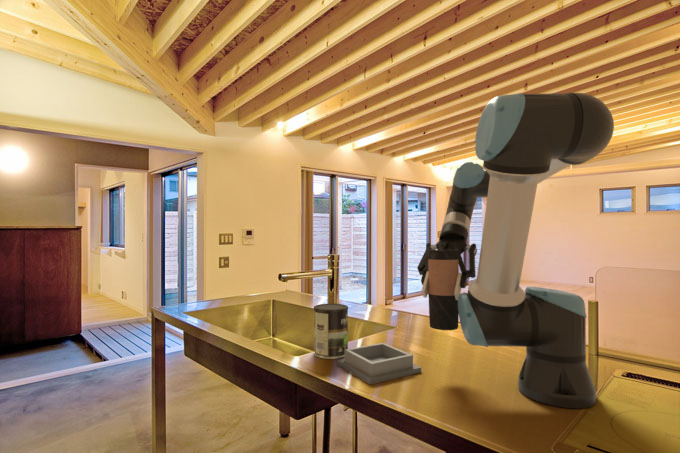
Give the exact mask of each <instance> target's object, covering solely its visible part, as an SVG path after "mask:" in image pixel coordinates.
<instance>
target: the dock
mask: <svg viewBox="0 0 680 453" xmlns="http://www.w3.org/2000/svg"><path fill="white" fill-rule="evenodd" d="M336 365H337V366H339V367H340V368H342V369H344V370H345V371H347V372H349V373H350V374H352V375H354V376H356V377H357V378H358V379H360V380H362V381H363V382H365V383H366V384H368V385H374V384H378V383H383V382H387V381H391V380H396V379H399V378H402V377H403V378H404V377H407V376H412V375H416V374H419V373H422V367H421V366H419V365H416V364H414V355H413V354H411V353H408V352H406V351H404V350H401V349H399V348H397V347H394V346H392V345H390V344H387V343H384V342H380V343H379V342H378V343H374V344H373V343H372V344H369V345H363V346H357V347H352V348H348V349H345V357H344V358H339V359H336Z"/></svg>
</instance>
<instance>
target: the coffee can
mask: <svg viewBox="0 0 680 453" xmlns="http://www.w3.org/2000/svg"><path fill="white" fill-rule="evenodd" d="M348 312H349V306H348V305H347V304H344V303H342V304H341V303H320V304H317V305H313V313H314V314H313V323H314V324H313V330H314V331H313V333H314V337H313V338H314V339H313V340H314V341H313V342H314V346H313V347H314V348H313V349H314V350H313V354H314V356H315V357H317V358H319V359H324V360H340V359H344V358H345V349H349V342H348V341H349V340H348V339H349V335H348V334H349V332H348V331H349V329H348V328H349V324H348V323H349V322H348V321H349V316H348V314H349V313H348ZM314 352H315V353H314Z"/></svg>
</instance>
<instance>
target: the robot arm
mask: <svg viewBox="0 0 680 453" xmlns="http://www.w3.org/2000/svg"><path fill="white" fill-rule="evenodd" d="M614 124H615V122H614V118H613V114H612V112H611V111H610V109H609V108H608V105H606V104H605V103H604V102H603V101H602V100H600V99H599V98H597V97H595V96H593V95H591V94H587V93H582V92H565V93H559V92H557V93H554V92H553V93H552V92H551V93H522V92H521V93H512V94H502V95H497V96H495V97H494V98H492V99H491V100H490V101H489V102H487V104H486V105H485V107H484V109H483V111H482V113H481V115H480V117H479V120H478V124H477V127H476V133H475V138H474V140H475V141H474V143H475V146H474V147H475V148H474V150H475V156H476V157H477V158H478V160H480V161H481V160H482V161H483V162H482V163H483V165H480V164H479V163H475V162H471V161H466V162H463V163H461V164H460V165H458V166H457V167H456V171H455V173H454V176H453V179H452V181H453V182H452V185H451V191H450V194H449V197H448V198H449V200H448V203H447V208H446V213H445V216H444V218H443V223H442V227H441V230H440V234H439V238H438V241H437V242H436V243H435V244H431V243H430V242H428V243H426V246H425V248H426V249H425V251H424V252H423V255H422V256H421V258H420V261H419V263H418V265H417V271H418V274H419V275H420V276H421V277H420V283H421V285H422V287H421V294H422V296H423V298H427V297H428V294H429V293H428V261H429V249H433V250H441V249H456V250H458V266H459V271H460V272H459V273H458V277H457V281H456V286H455V291H454V295H455V299H456V300H458V312H459V318H458V320H459V324H460V328H461V331H462V334H463V337H464V339H465V340H466V342H467V343H468V344H469V345H472V346H479V347H485V348H489V347H514V348H515V347H518V348H519V347H521V348H523V347H524V348H525V349H526V354H525V358H524V361H523V364H522V365H521V369H520V372H519V375H518V377H517V388H518V390H519V392H520V393H521V394H522V395H524V396H525V397H527V398H530V399H531V400H533V401H535V402H539V403H542V404H545V405H549V406H552V407H558V408H565V409H585V408H590V407H593V406H595V405H596V403H597V391H596V388H595V385H594V381H593V379H592V376H591V373H590V371H589V369H588V365H587V359H586V358H587V357H586V356H587V354H586V353H587V350H586V349H587V346H586V345H587V336H586V335H587V334H586V333H587V332H586V330H587V329H586V325H587V323H586V322H587V320H586V318H587V317H588V316H587V312H586V306H585V305H586V303H585V300H584V298H583V297H581V296H580V295H579V294H576V293H572V292H568V291H564V290H558V289H554V288H553V289H552V288H548V287H538V286H527V287H526V288H525V290H524V289H522V287H521V286H520V284H521V278H522V271H523V267H524V261H525V257H526V256H525V255H526V251H527V250H526V249H527V244H528V238H529V233H530V227H531V222H532V217H533V210H534V205H535V199H536V194H537V189H538V184H541V183H542V182H545V180H547V179H549V178H551V177H552V176H554V175H556V174H558V173H559V172H561V171H562V170H564V169H566V168H567V167H570V166H578V165H583V164H584V163H587V162H588V161H590V160H592V159H593V158H595V157H597V156H598V155H599V154H600V153H602V151H604V150H605V149H606V148H607V147H608V145H609V144H610V142H611V140H612V137H613V135H614V130H615V125H614ZM478 198H486V204H485V212H484V221H483V228H482V234H481V235H482V238H481V245H480V251H479V261H478V266H477V267H478V268H477V275H476V255H477V253H478V248H477V245H476V243H471V244H467V243H468V242H467V241H468V237H469V233H470V228H471V223H472V217H473V214H474V208H475V207H476V206H475V205H476V203H477V200H478ZM466 251H467V253H468V269H466V265H465V263H464V261H463V256H462V254H463V253H464V252H466ZM469 278H472V279H473V278H474V279H473V280H471V281H470V282H469V283H468V290H467V292H462V289H465V288H466V287H467V281H468V279H469ZM461 292H462V293H461Z"/></svg>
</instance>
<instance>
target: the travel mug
mask: <svg viewBox="0 0 680 453" xmlns="http://www.w3.org/2000/svg"><path fill="white" fill-rule="evenodd" d="M458 273H460V267H459V264H458V250H456V249H441V250H437V249H435V250H433V249H429V261H428V294H427V296H428V315H429V316H428V317H429V327H430V328H431V329H433V330H439V331H454V330H458V329H459V312H458V300H456V299H455V295H454V291H455V286H456V281H457V277H458Z"/></svg>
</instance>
